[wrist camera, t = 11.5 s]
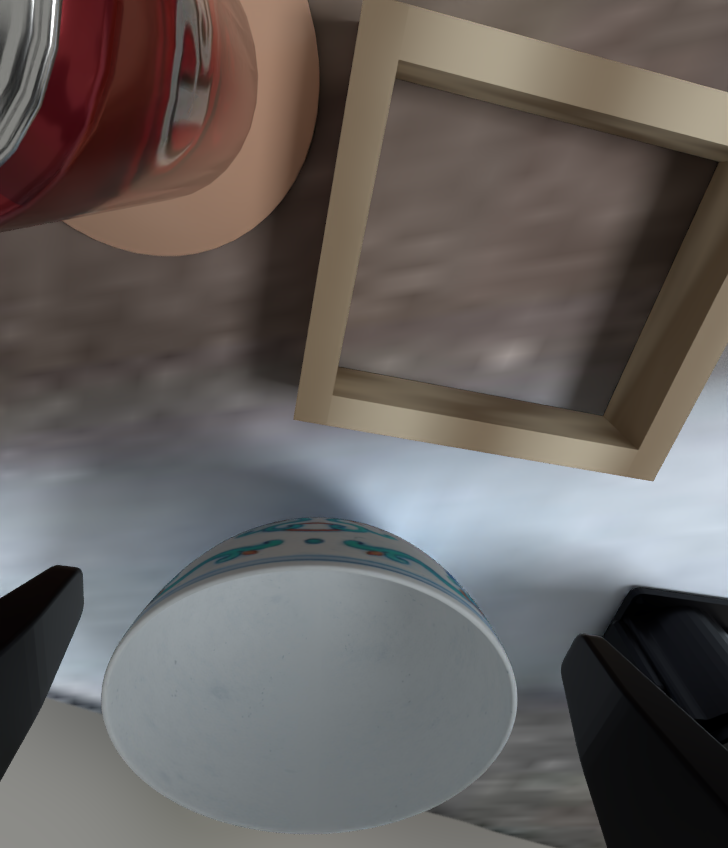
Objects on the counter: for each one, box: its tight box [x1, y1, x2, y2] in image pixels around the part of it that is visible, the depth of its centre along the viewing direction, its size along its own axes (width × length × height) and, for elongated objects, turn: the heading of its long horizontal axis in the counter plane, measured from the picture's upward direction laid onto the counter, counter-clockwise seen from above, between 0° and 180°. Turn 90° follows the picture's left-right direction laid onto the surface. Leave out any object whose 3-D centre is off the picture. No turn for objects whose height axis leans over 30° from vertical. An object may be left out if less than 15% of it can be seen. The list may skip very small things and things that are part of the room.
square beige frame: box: [293, 0, 728, 481], centre depth 18 cm, size 14×12×3 cm
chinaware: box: [101, 518, 517, 834], centre depth 22 cm, size 15×15×8 cm
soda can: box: [0, 0, 258, 233], centre depth 10 cm, size 7×7×12 cm
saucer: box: [63, 0, 320, 256], centre depth 16 cm, size 11×11×1 cm
